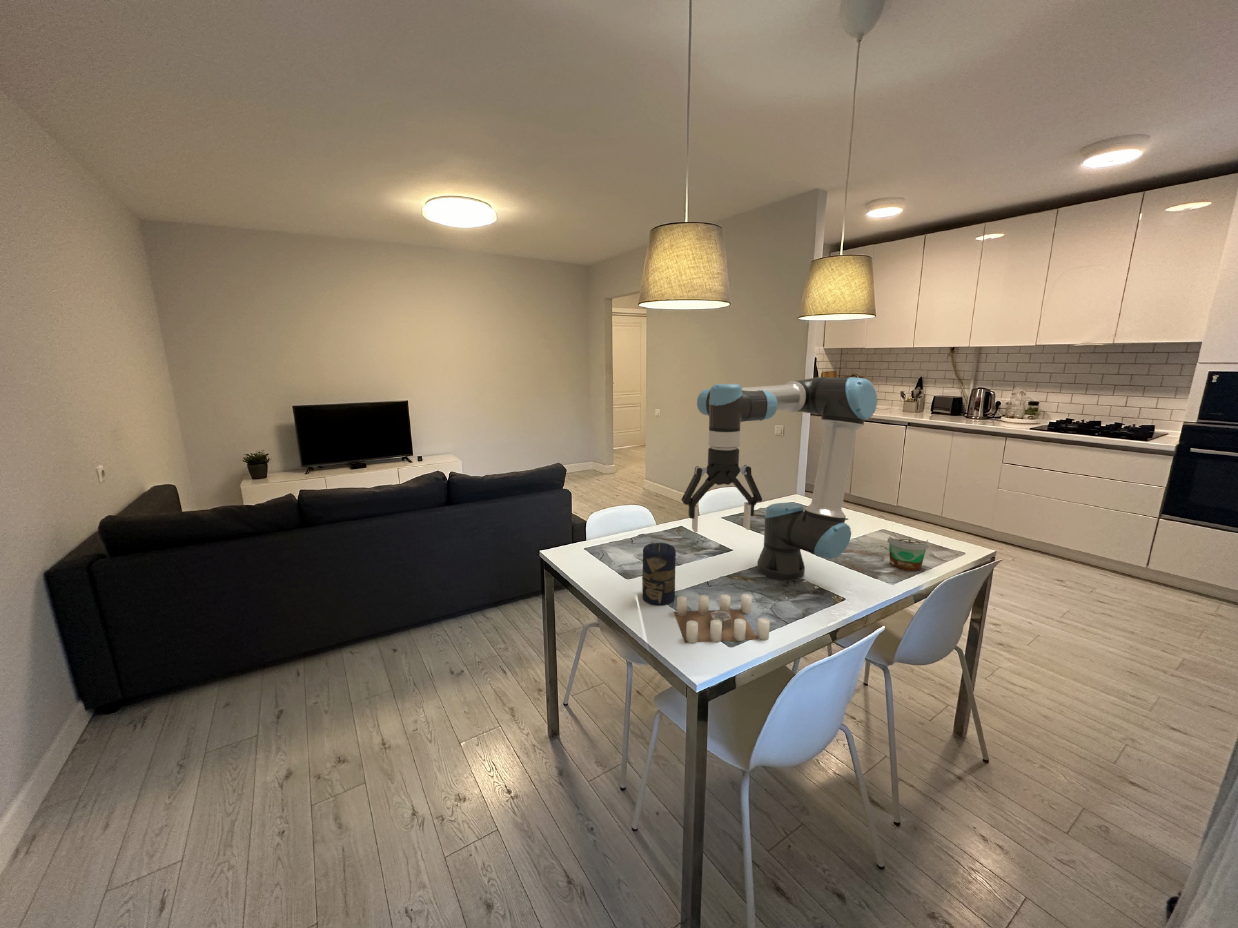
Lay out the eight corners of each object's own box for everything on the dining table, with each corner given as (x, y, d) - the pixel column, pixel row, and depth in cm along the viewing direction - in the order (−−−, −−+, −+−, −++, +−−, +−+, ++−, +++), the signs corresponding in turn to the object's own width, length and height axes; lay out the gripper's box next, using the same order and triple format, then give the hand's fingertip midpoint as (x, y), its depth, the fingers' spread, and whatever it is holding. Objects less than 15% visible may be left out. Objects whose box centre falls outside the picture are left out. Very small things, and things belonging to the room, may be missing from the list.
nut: (726, 618, 128) (726, 609, 128) (732, 629, 123) (733, 620, 122) (708, 619, 128) (708, 610, 127) (714, 630, 122) (714, 621, 122)
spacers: (749, 608, 134) (750, 593, 133) (770, 640, 118) (771, 623, 117) (675, 611, 132) (676, 596, 131) (687, 643, 117) (687, 626, 116)
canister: (637, 606, 138) (638, 547, 134) (647, 591, 146) (648, 536, 143) (670, 611, 134) (671, 551, 131) (678, 596, 143) (679, 540, 139)
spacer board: (765, 612, 134) (765, 608, 134) (787, 642, 119) (787, 637, 119) (673, 615, 132) (673, 611, 132) (684, 646, 117) (684, 642, 117)
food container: (887, 569, 161) (890, 541, 159) (884, 562, 166) (887, 535, 164) (930, 574, 156) (934, 546, 154) (925, 567, 162) (929, 539, 160)
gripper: (766, 443, 123) (762, 522, 127) (670, 446, 120) (669, 526, 125) (778, 448, 115) (773, 532, 120) (677, 451, 113) (675, 536, 117)
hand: (720, 529), depth 122 cm, fingers open, 13 cm apart
